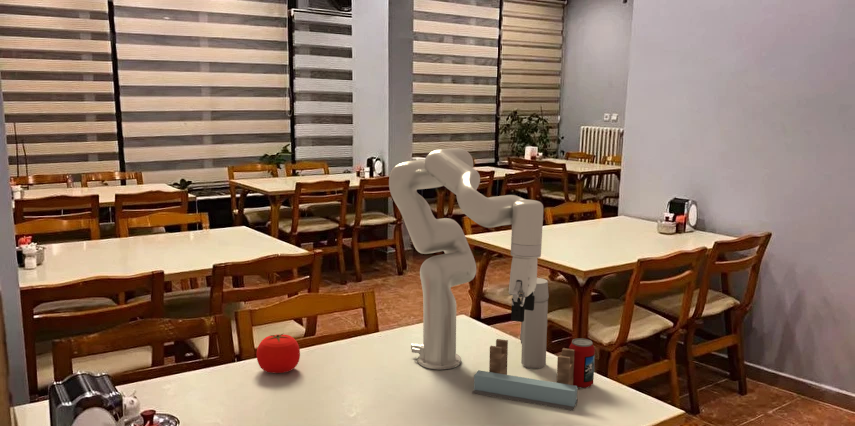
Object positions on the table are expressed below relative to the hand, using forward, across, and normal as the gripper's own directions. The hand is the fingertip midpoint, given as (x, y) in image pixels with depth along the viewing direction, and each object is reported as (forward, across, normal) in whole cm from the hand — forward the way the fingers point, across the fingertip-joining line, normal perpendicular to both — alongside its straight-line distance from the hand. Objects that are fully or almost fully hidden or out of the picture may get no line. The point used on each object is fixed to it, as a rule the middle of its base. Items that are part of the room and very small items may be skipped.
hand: (522, 315), depth 175 cm
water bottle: (+22, -22, -2) cm, 31 cm away
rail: (+21, +1, +2) cm, 21 cm away
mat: (+21, +1, +2) cm, 21 cm away
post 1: (+22, -5, -7) cm, 23 cm away
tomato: (+23, +12, -66) cm, 71 cm away
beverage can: (+21, -13, +14) cm, 28 cm away
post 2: (+21, -5, +11) cm, 24 cm away
